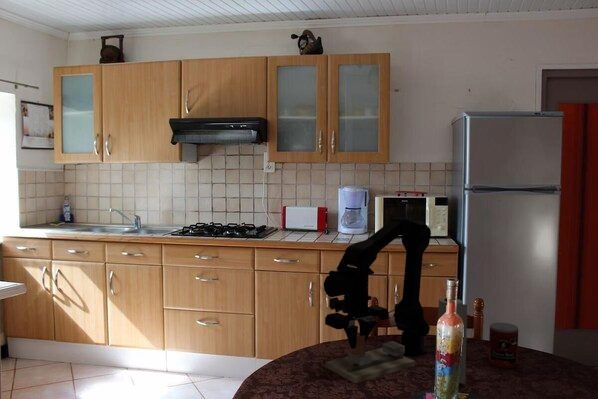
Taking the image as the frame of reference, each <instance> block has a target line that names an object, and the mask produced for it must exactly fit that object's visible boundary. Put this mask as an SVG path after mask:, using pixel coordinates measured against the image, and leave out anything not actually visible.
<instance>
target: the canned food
mask: <svg viewBox="0 0 598 399" xmlns="http://www.w3.org/2000/svg"><path fill="white" fill-rule="evenodd" d="M488 341H489V342H488V343H489V344H488V346H489V347H488V348H489V349H488V360H489V363H490V364H491V365H492V366H494V367H495V368H499V369H514V368H516V367H517V365H518V349H519V348H518V347H519V328H518V326H517V325H515V324H511V323H507V322H492V323H490V324H489V340H488Z"/></svg>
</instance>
